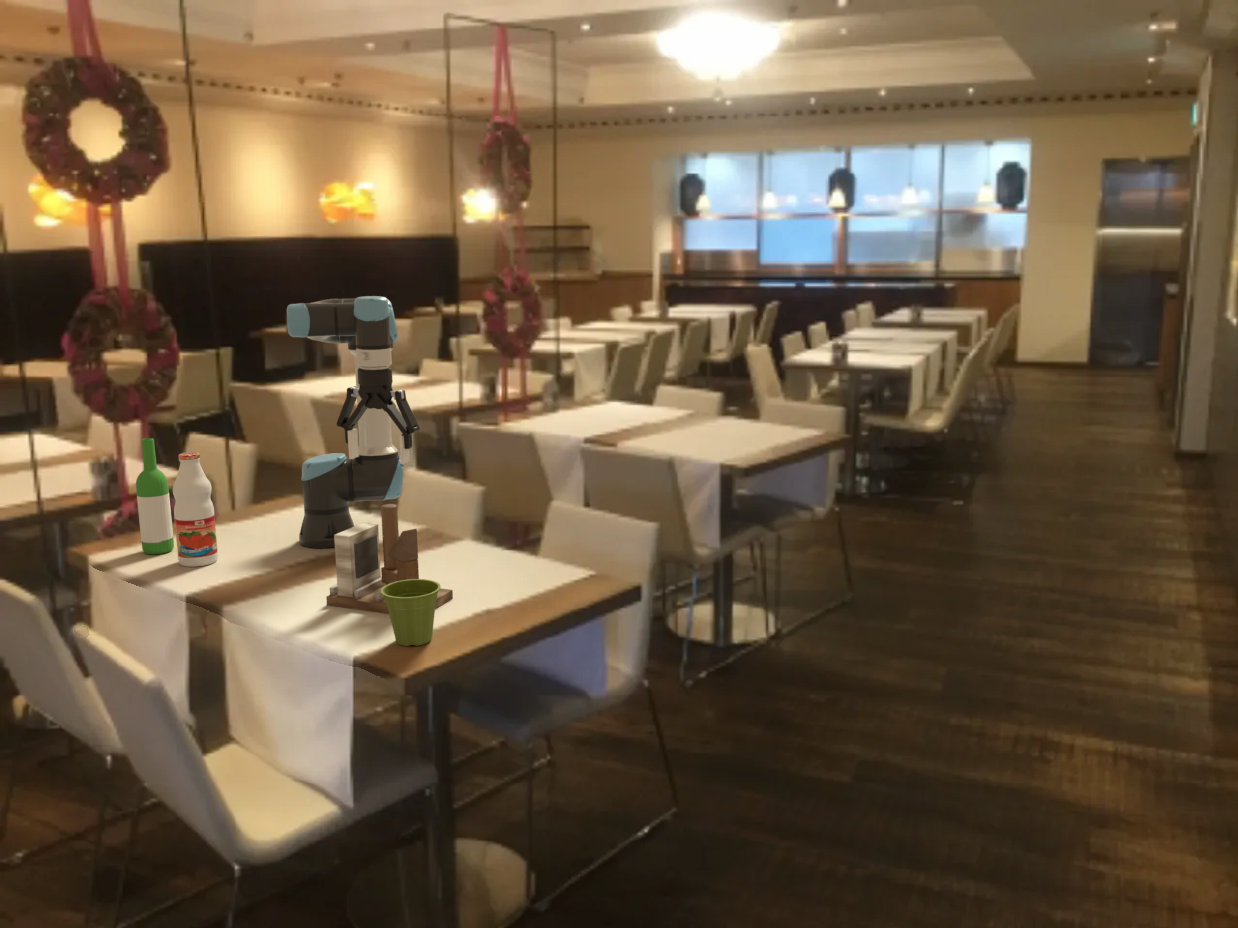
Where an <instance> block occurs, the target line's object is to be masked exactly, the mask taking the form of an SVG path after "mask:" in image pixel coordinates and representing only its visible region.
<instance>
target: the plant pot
mask: <svg viewBox="0 0 1238 928" xmlns="http://www.w3.org/2000/svg"><path fill="white" fill-rule="evenodd" d="M440 588H441V583H439V582H437V581H434V580H431V579H425V578H419V579H408V580H401V581H396V582H393V583H390V584H388V585H386V586H384V587H383V588H382V589H381V594H382V595H384V598H385V602H386V604H387V606H388V610H389V618H390V623H391V626H392V630H393V635H394V638H395V642H396V644H398V645H400V646H403V647H409V646H415V647H417V646H418V647H419V646H422V645H425V644H427V643H430V641H432V638H433V631H434V622H435V612H436V609H435V604H436V600H437V594H438V591H439V590H440Z"/></svg>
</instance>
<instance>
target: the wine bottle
mask: <svg viewBox="0 0 1238 928" xmlns="http://www.w3.org/2000/svg"><path fill="white" fill-rule="evenodd" d="M141 449H142V458H143V460H142V461H143V470H142V471H141V472H140V473H139V474H138V475H137V477H136V479H135V480H136V481H135V489H136V502H137V509H138V510H137V511H138V521H139V529H140V532H139V533H140V540H141V548H142V551H143V553H145V554H146V555H162V554H166V553H169V552H172V551H173V549H174V547H175V541H174V530H173V520H172V518H173V517H172V510H171V502H170V491H169V490H170V489H169V482H168V478H167V476H166V474H164V472H162V471H161V470H160V469H158V466H157V465H158V464H157V457H156V446H155V439H154V438H153V437H144V438H142V439H141Z"/></svg>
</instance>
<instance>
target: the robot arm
mask: <svg viewBox="0 0 1238 928" xmlns="http://www.w3.org/2000/svg"><path fill="white" fill-rule="evenodd" d="M286 323H287V324H286V325H287V333H288V335H289V336H290V337H291V338H302V339H303V338H307V339H310V340H312V341H317V342H321V343H328V344H347V351H348V352H349V353H350V354H351V355H353V357H354V369H355V373H354V374H355V385H354V386H350V387H347V388H346V398H345V400H344V403H343V405H342V408H341V410H340V413H339V416H338V418H337V421H336V427H338V428H339V427H340V428H342V429H343V430H344V438H345V444H347V445H348V457H347V456H346V453H343V452H337V453H336V452H333V453H325V454H320V455H316V456H313V457H311V458H308V459H307V460H305V461H303V463H302V465H301V481H302V494H303V495H302V497H303V512H304V515H303V519H302V522H301V526H300V532H299V536H298V539H299V541H298V542H299V544H300V545H301V546H303V547H306V548H311V549H312V548H313V549H328V548H331V549H332V548H335V541H334V535H335V534H338V533H340V532H342V531H345V530H347V529H350V528H352V527H355V526H356V525H355V523H354V522H353V520H354V519H353V518H352V516H351V513H350V505H349V503H352V502H355V503H356V502H364V501H365V502H368V501H369V502H370V501H386V500H387V501H388V500H394V499H397V498H399V497H400V496H401V494H402V491H403V484H404V473H405V470H404V469H405V466H404V465H405V464H407V463H409V462H411V458H410V457H411V455H410V454H411V453H410V452H411V451H410V449H412V447H413V433H416V432H419V431H420V424H418V421H417V419H416V417H415V415H414V413H413V410H412V409H411V406H410V404H409V402H408V400H407V397H406V390H405V389H404V388H403V389H402V388H401V389H399V390H393V387H392V386H393V381H394V380H393V369H392V367H390V366H391V365H392V364H393V362H392V361H393V359H392V351H393V350H394V344H395V343H398V341H399V336H398V330H397V329H398V328H397V322H396V318H395V313H394V308H393V305H392V302H391V301H390V300H389V299H388V298H387V297H386V296H381V295H379V296H377V295H371V296H370V295H367V296H366V295H365V296H358V297H356V298H355V297H353V298H329V299H322V300H319V301H314V302H310V303H309V302H308V303H307V302H306V303H304V302H299V303H290V304H288V305H287V308H286ZM393 343H394V344H393ZM394 400H395V402H396V403H395V402H394ZM355 405H356V408H355V410H354V411H353V409H354V406H355ZM392 422H393V423H394V424H395V426H396V427H397V428H398V430H399V431H400V433H401V434H399V437H398V439H399V449H398V448H397V447H396V446H395V445H394V444H393V438H392ZM356 425H358V427H357V428H355V427H356Z"/></svg>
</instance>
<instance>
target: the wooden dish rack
mask: <svg viewBox="0 0 1238 928" xmlns="http://www.w3.org/2000/svg"><path fill="white" fill-rule="evenodd" d="M354 526H355V527H352V528H350V529H347V530H345V531H342V532H340V533H338V534H335V535H334V541H335V547H334V555H335V557H334V558H335V571H336V584H334V585H332V586H329V594H328V595H326V596H325V597H326V605H327V606H331V607H339V608H346V609H353V610H360V611H365V612H374V613H381V614H389V610H388V606H387V604H386V602H385V598H384V595H382V594H381V589H382V588H383V587H384V586H386V585H387V584H385V583H383V582H382V576H381V554H380V552H381V551H380V539H379V538H380V537H379V536H380V535H379V534H380V533H379V524H377V523H376V524H375V523H368V522H363V523H360V524H357V525H354ZM453 595H454V594H453V589H448V588H441V587H440V590H439V591H438V594H437V600H436V604H435V610H436V609H438V608H439V607H441V606H443V605H444V604H446V603H447V602H449V601H451V600H453V598H454V597H453ZM389 615H390V614H389Z"/></svg>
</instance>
